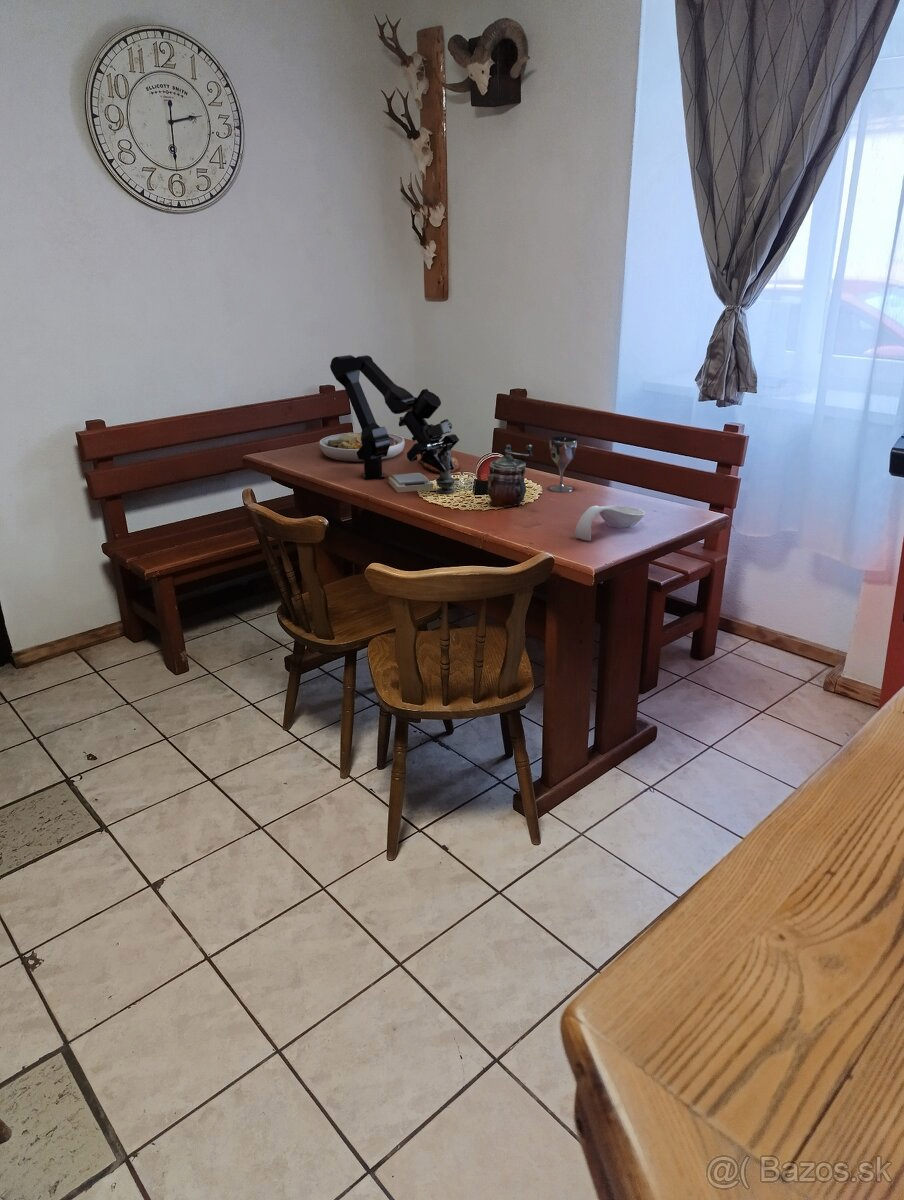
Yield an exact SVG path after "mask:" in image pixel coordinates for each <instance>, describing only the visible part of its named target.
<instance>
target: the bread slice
mask: <svg viewBox="0 0 904 1200" xmlns="http://www.w3.org/2000/svg"><path fill="white" fill-rule="evenodd" d="M421 458H422V457H421V456H420V459H421ZM451 458H452V461H453V465H454V469H453V470H451V469H450V474H453V473H455V471H457V470H458V469H459V468H460V465H459V461H458V459H457V458H455V457H452V456H451ZM420 459H419V460H420ZM420 464H421V465H422V466H423V467H424V468H425V469H427V470H429V471H431V472H434V473H437V474H441V473H440V471H439V470H438V469H436V468H434V467H432V466H430V465H428V464H426V463H424V462H420Z"/></svg>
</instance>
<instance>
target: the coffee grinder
mask: <svg viewBox="0 0 904 1200" xmlns="http://www.w3.org/2000/svg"><path fill="white" fill-rule="evenodd" d="M533 446H534V445H533V444H526V445H525V448H524V450H525V451H527V453H519V452H514V451H513V450H511V448H512V447H511V445H510V444H506V445H505V449H504V453H505V455H502V456H500V457H499V458H497V459H494V460H492V461H490V463H489V464H490V465H488V469H489V471H488V473H487V474H486V476H487V491H486V492H487V495H488V497H489V499H490V506H494V507H498V506H505V507H508V508H509V507H511V506H520V505H521V504H522V502H523V501H524V500H525V496H526V493H527V486H526V482H525V478H524V476H525V473H526V466H527V463H526V462H524V461H522V460H520V459H517V458H516V459H515V458H514V457H513V455H518V456H524V457H534V455H533V454H532V448H533Z"/></svg>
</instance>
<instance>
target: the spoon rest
mask: <svg viewBox="0 0 904 1200" xmlns="http://www.w3.org/2000/svg"><path fill="white" fill-rule="evenodd" d="M598 515H600V517H601V519H602V520H603V521H604V522H605V523H606V524H607V525H608V526H609V527H612V528H617V529H626V528H631V527H632V526H634V525H636V524H638V523H639V522H640V521H642V520H643V518H644V517H645V515H646V512H645V510H643V509H640V508H636V507H631V506H623V505H603V506H602V505H601V506H598V505H597V504H595V505H592V506H590V507H589V508H587V509H586V510H585V511H584V513H582V515H581V516H580V518H579V519H578V522H577V524H576V525H575V529H574V534H573V536H574V538H576V539H580V540H583V541H591V540H592V539H591V538H592V525H593V522H594V519H595V518H596V517H597V516H598Z"/></svg>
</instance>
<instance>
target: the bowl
mask: <svg viewBox="0 0 904 1200" xmlns="http://www.w3.org/2000/svg"><path fill="white" fill-rule="evenodd" d="M387 433H388V432H387ZM361 434H362V431H356V432H345V433H338V434H332V435H328V436H326V437H322V438H321V439H320V440H319V441H318V442H319V449H320V451H321V452H322V454H324V455H325V456H326V457H328V458H330V459H333V460H335V461H343V462H352V463H355V462H356V463H359V462H360V463H361V462H362V463H364V460H361V459H358V456H357V451H358V450H359V449H360V448H361V446H362V441H361ZM388 435H389V437H390V439H389V440H390V447H389V450H388V453H387V456H384V457H382V461H383V460H388V459H391V458H394V457H396V456H398V455H399V454H400V453H401V452H403V450H404V448H405V443H406V441H405V440H406V439H405V438H404V437H403V436H400V435H398V434H394V433H390V432H389V433H388Z"/></svg>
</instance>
